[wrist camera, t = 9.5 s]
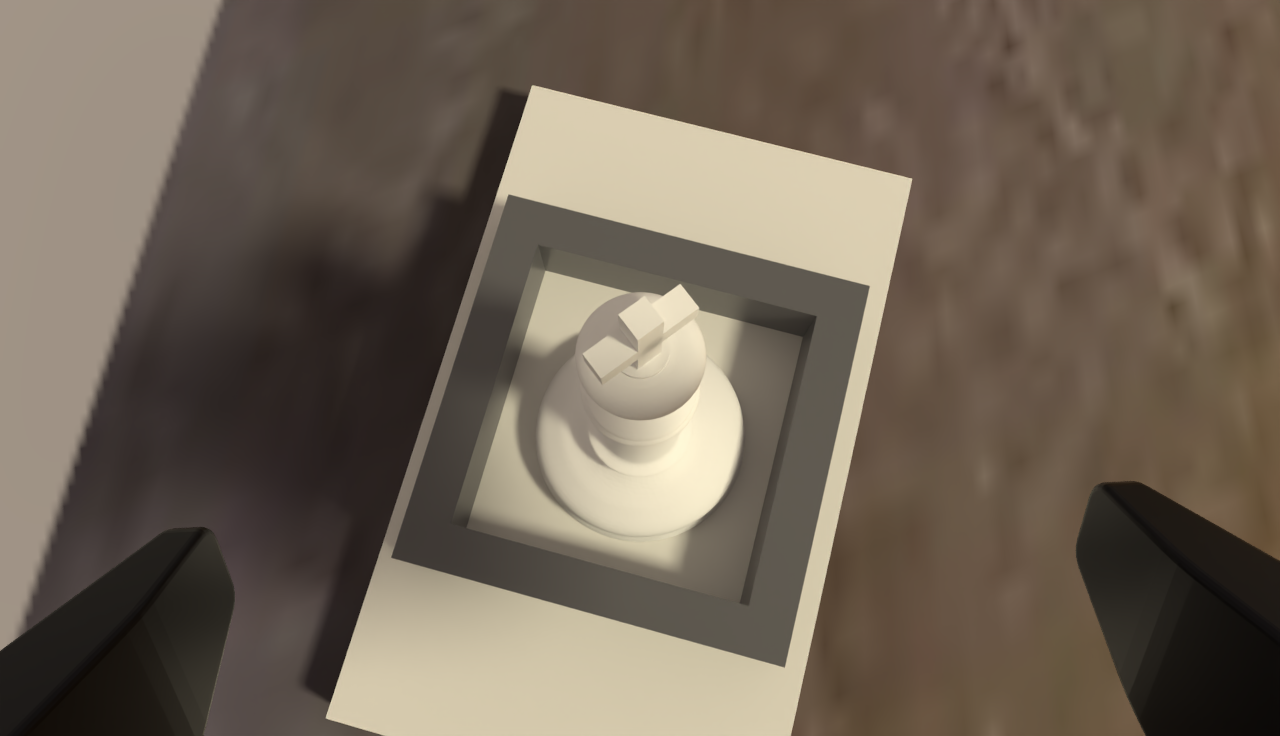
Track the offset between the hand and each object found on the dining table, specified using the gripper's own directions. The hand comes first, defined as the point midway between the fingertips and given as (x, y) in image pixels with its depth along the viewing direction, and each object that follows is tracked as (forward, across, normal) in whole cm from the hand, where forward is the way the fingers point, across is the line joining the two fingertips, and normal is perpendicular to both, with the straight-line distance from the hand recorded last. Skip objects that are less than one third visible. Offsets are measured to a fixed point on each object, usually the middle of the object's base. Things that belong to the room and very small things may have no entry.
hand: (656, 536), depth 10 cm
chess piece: (+11, 0, +7) cm, 13 cm away
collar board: (+12, 0, +7) cm, 14 cm away
